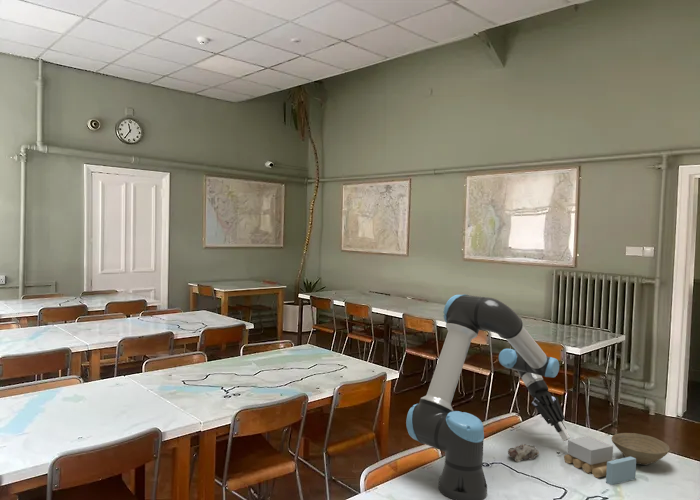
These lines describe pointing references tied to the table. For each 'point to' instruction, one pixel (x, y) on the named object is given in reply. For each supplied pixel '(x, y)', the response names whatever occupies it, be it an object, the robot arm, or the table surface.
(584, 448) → the slab
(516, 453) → the mineral rock
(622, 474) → the fence
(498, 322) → the robot arm
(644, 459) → the bowl
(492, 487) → the table surface
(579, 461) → the roller bed
